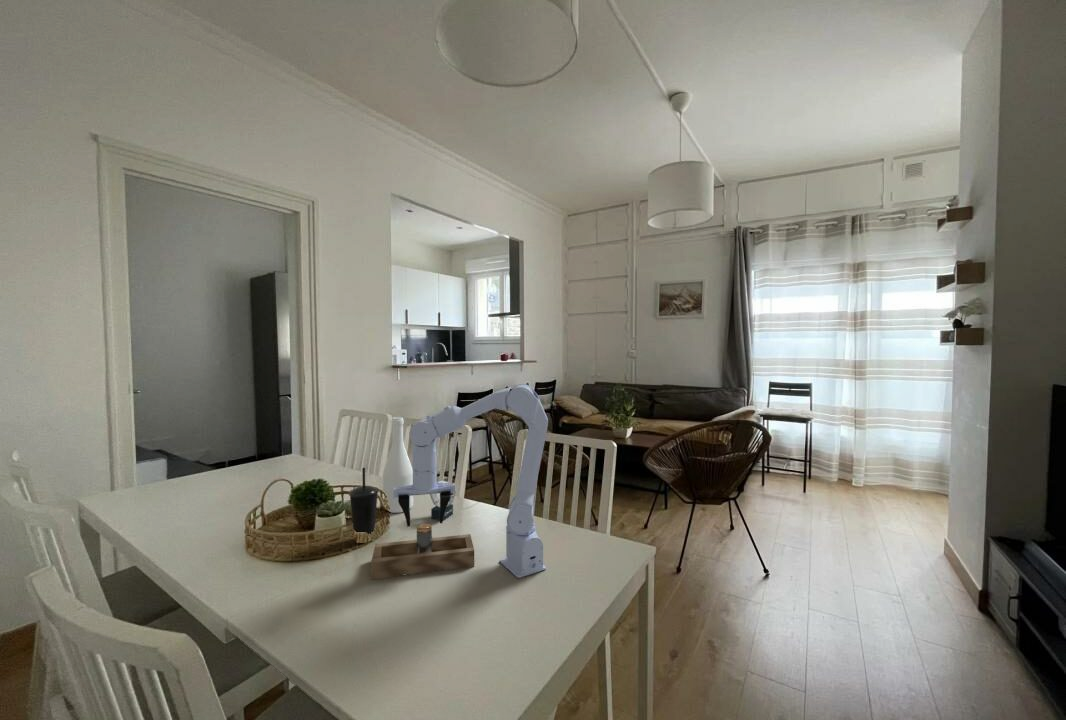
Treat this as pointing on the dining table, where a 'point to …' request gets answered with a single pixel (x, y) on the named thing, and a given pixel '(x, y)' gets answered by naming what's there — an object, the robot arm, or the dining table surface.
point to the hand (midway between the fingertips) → (425, 523)
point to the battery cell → (424, 538)
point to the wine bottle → (397, 467)
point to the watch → (436, 509)
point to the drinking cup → (364, 506)
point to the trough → (422, 556)
